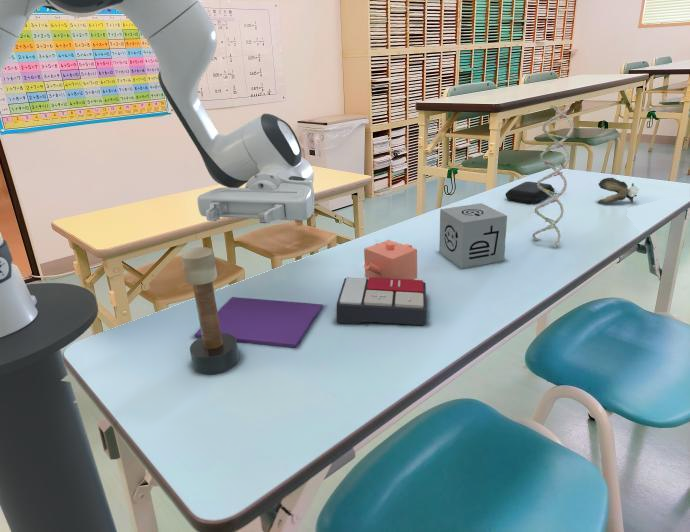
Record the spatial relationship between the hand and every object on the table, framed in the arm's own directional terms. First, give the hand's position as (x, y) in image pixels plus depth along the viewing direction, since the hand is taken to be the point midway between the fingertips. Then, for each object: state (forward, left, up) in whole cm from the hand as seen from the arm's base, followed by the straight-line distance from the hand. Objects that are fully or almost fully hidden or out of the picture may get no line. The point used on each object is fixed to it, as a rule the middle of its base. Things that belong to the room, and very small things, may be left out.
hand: (236, 217), depth 84 cm
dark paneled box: (+22, +8, -19) cm, 30 cm away
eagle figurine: (+73, +80, -19) cm, 110 cm away
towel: (+2, 0, -19) cm, 19 cm away
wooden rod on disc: (0, -13, -19) cm, 23 cm away
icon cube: (+36, +35, -19) cm, 54 cm away
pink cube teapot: (+21, +19, -19) cm, 34 cm away
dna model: (+52, +45, -19) cm, 71 cm away
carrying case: (+51, +83, -19) cm, 99 cm away
